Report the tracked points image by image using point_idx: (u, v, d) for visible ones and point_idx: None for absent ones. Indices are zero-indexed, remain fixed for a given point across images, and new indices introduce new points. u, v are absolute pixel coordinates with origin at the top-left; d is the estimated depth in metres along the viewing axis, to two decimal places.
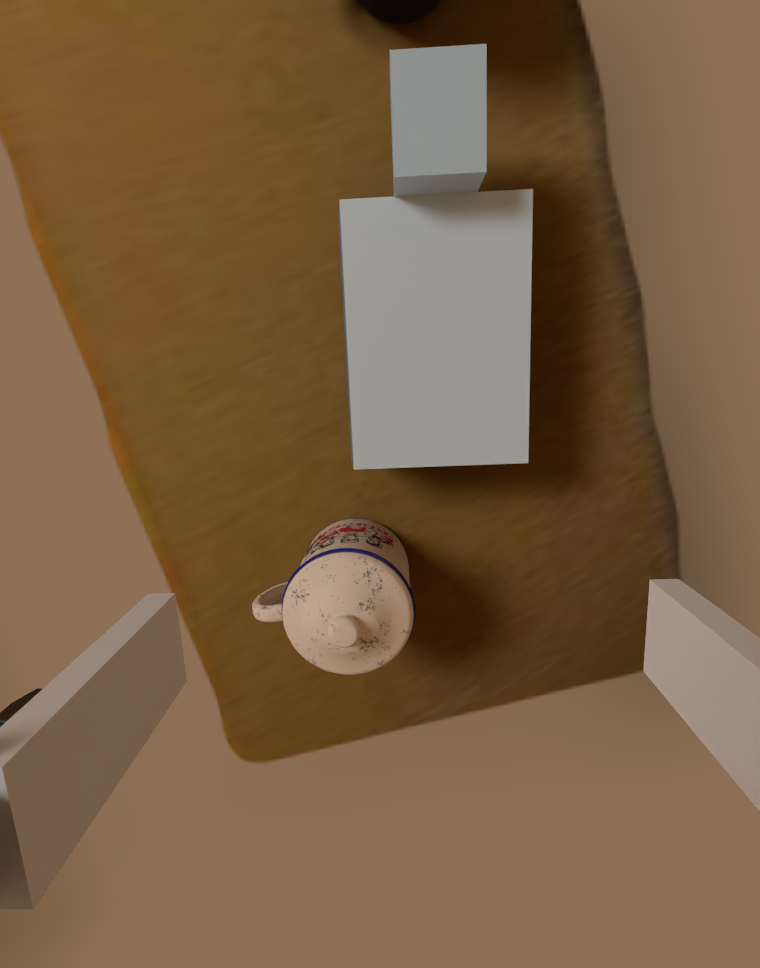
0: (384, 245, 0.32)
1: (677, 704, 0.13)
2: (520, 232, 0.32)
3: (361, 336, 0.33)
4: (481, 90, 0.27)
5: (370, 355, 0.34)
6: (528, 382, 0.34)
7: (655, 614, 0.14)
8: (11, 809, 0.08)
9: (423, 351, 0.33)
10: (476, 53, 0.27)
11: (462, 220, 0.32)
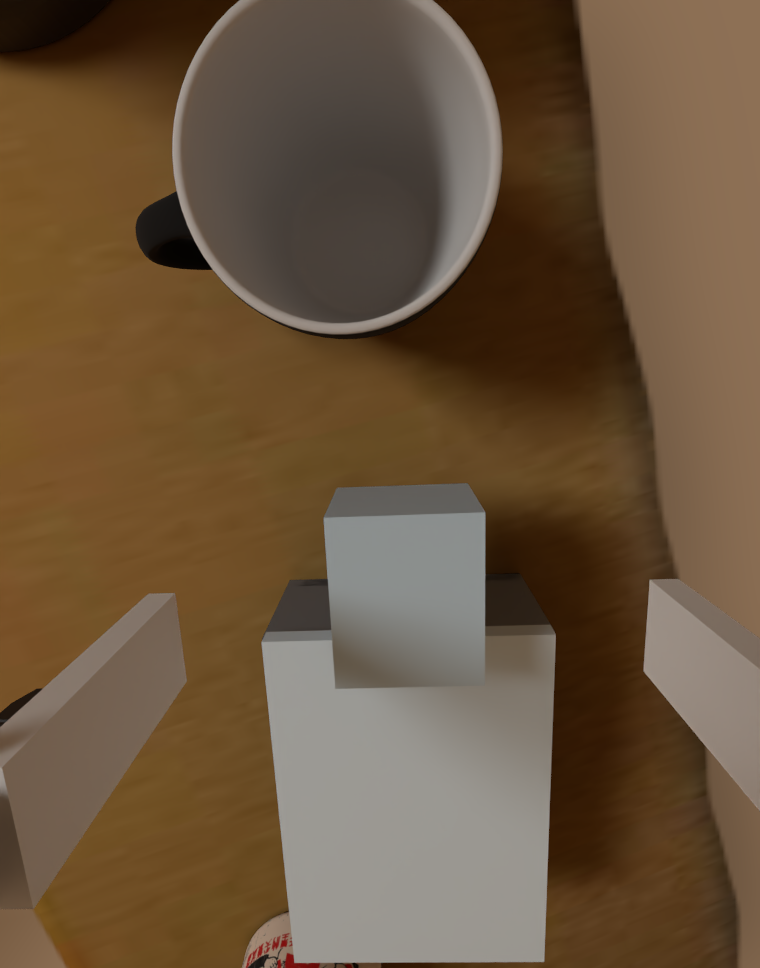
0: (331, 700, 0.21)
1: (677, 704, 0.13)
2: (536, 689, 0.21)
3: (300, 810, 0.23)
4: (476, 577, 0.17)
5: (313, 833, 0.23)
6: (545, 869, 0.23)
7: (655, 614, 0.14)
8: (11, 809, 0.08)
9: (391, 829, 0.23)
10: (468, 525, 0.16)
11: None
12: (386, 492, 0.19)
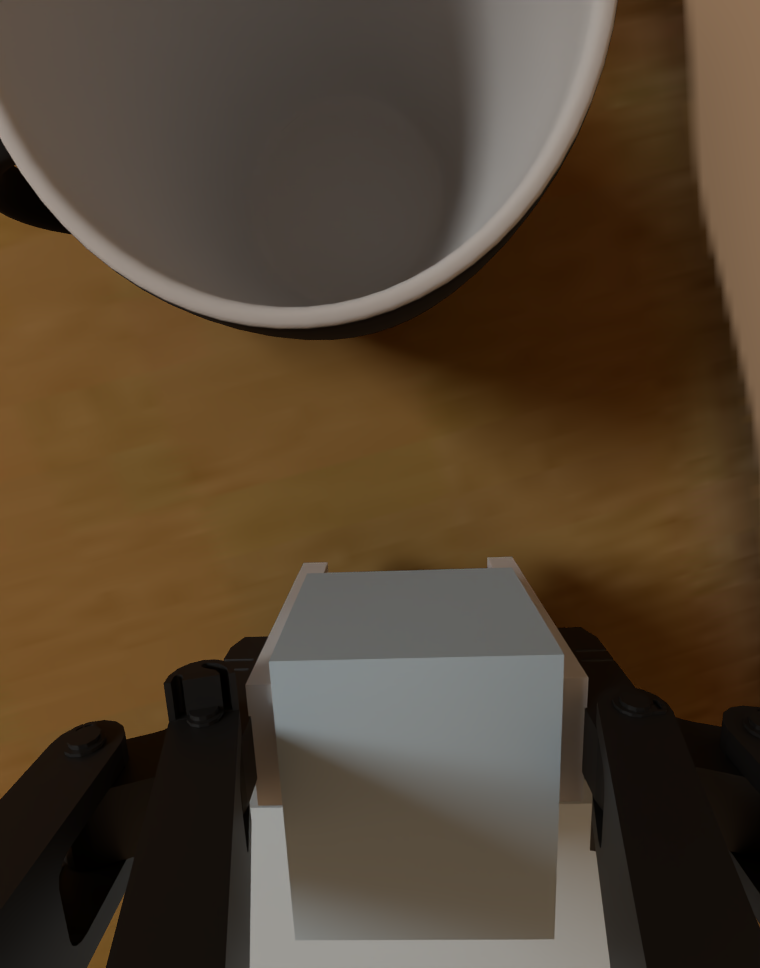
0: None
1: None
2: None
3: None
4: (545, 764, 0.09)
5: None
6: None
7: None
8: None
9: None
10: (532, 677, 0.09)
11: None
12: (384, 587, 0.12)
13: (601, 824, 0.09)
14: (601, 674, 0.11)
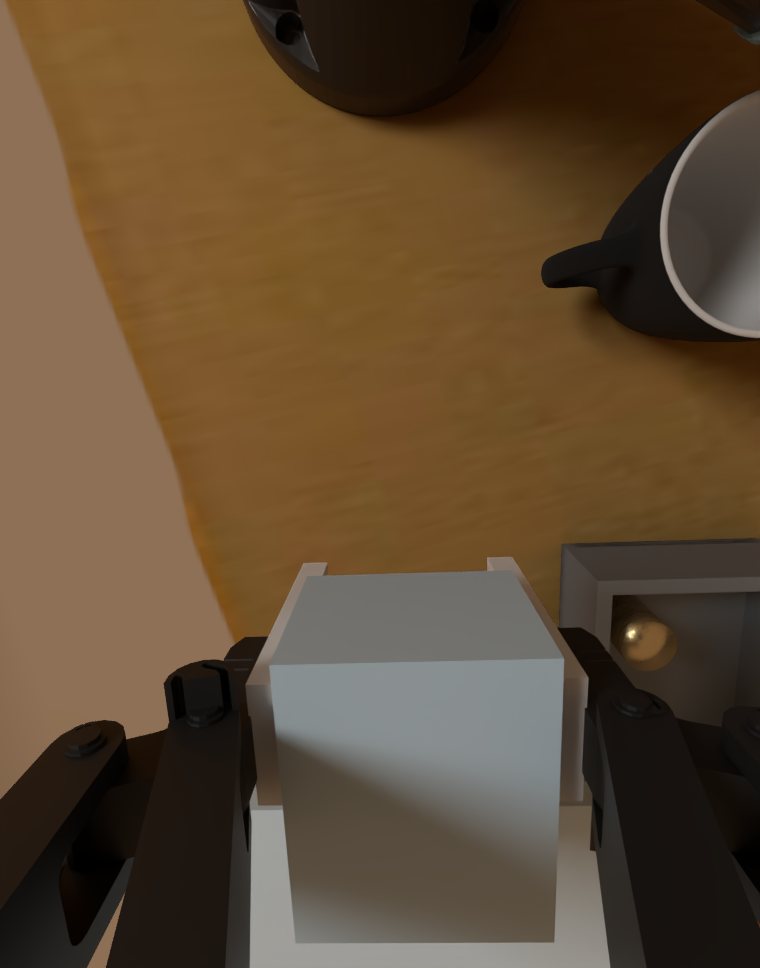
0: None
1: None
2: None
3: None
4: (545, 768, 0.09)
5: None
6: None
7: None
8: None
9: None
10: (532, 681, 0.09)
11: None
12: (384, 590, 0.12)
13: (601, 824, 0.09)
14: (601, 674, 0.11)
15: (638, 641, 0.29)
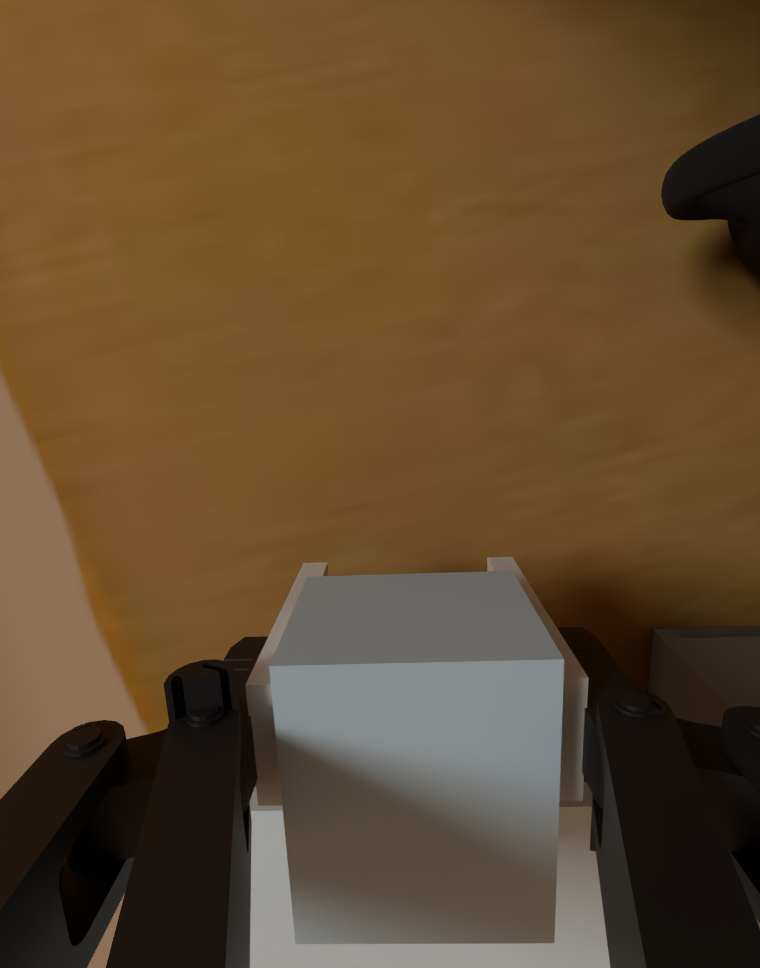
0: None
1: None
2: None
3: None
4: (545, 768, 0.09)
5: None
6: None
7: None
8: None
9: None
10: (532, 682, 0.09)
11: None
12: (384, 591, 0.12)
13: (601, 824, 0.09)
14: (601, 674, 0.11)
15: None
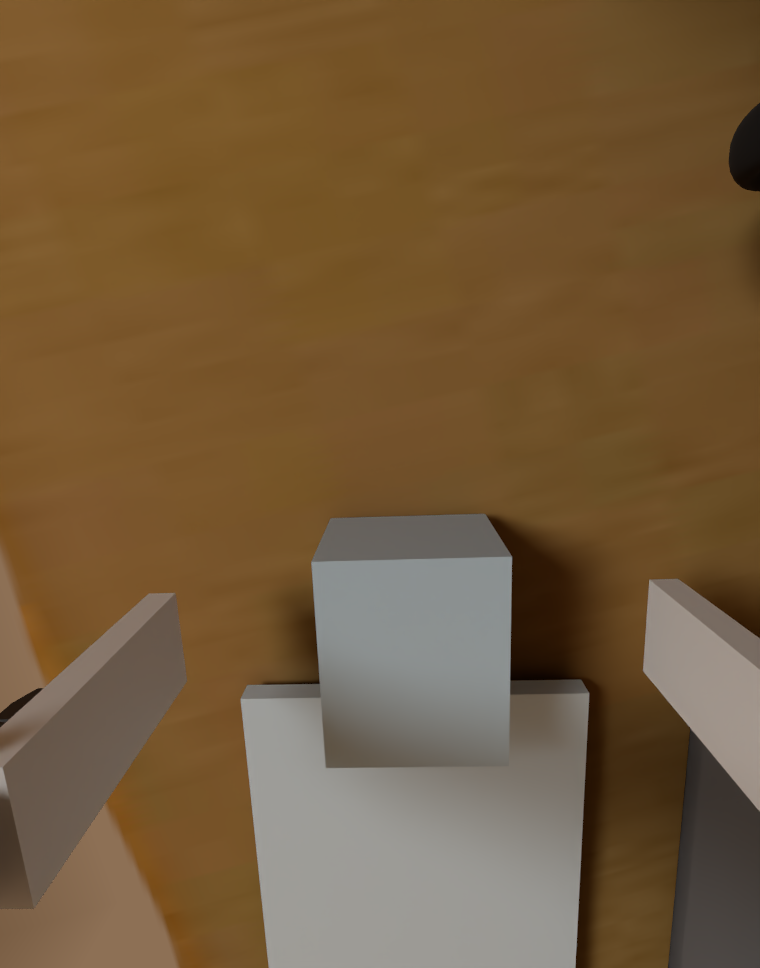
0: (322, 767, 0.18)
1: (676, 704, 0.13)
2: (564, 756, 0.18)
3: (286, 892, 0.19)
4: (500, 635, 0.13)
5: (301, 919, 0.20)
6: (573, 963, 0.20)
7: (654, 614, 0.14)
8: (12, 809, 0.08)
9: (393, 916, 0.19)
10: (490, 572, 0.13)
11: None
12: (389, 525, 0.16)
13: None
14: None
15: None
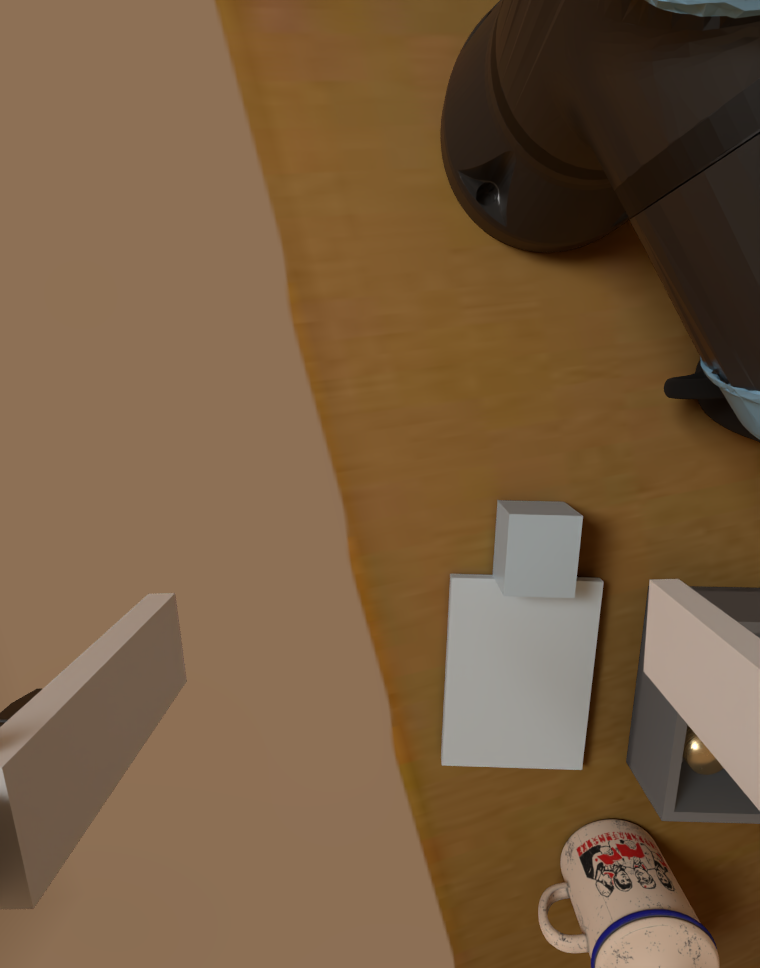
0: (483, 611, 0.41)
1: (677, 704, 0.13)
2: (591, 610, 0.40)
3: (458, 672, 0.42)
4: (576, 545, 0.36)
5: (463, 686, 0.42)
6: (587, 713, 0.42)
7: (655, 614, 0.14)
8: (11, 809, 0.08)
9: (506, 686, 0.42)
10: (574, 521, 0.36)
11: (546, 598, 0.40)
12: (526, 504, 0.39)
13: None
14: None
15: None
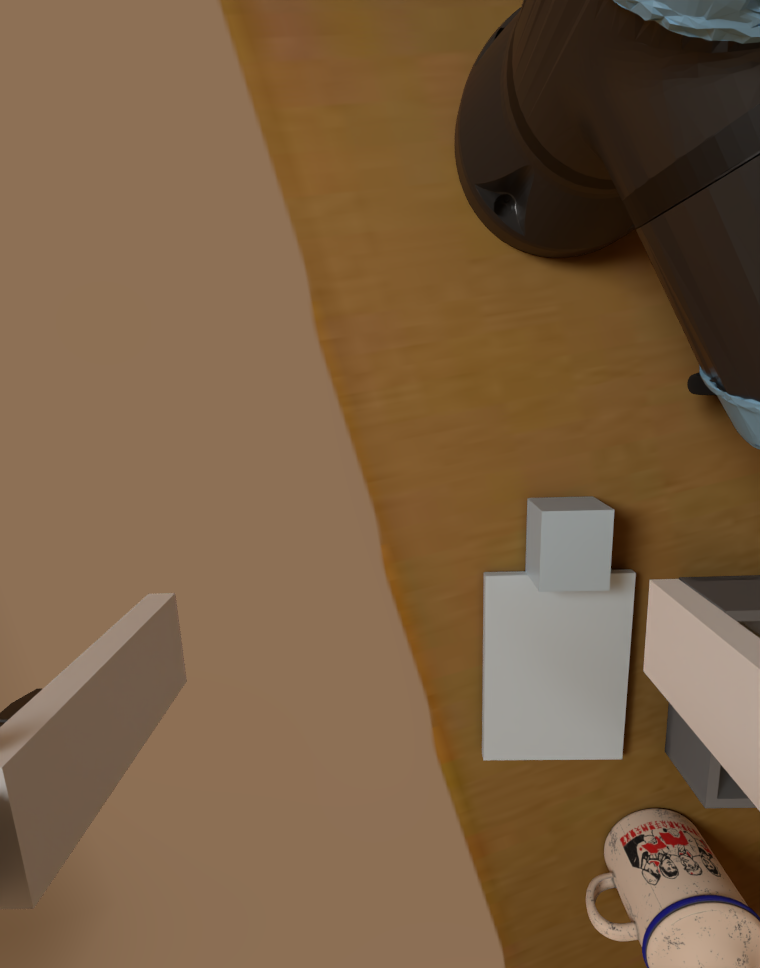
0: (518, 607, 0.41)
1: (677, 704, 0.13)
2: (624, 601, 0.41)
3: (496, 668, 0.43)
4: (608, 539, 0.37)
5: (501, 682, 0.43)
6: (625, 703, 0.43)
7: (655, 614, 0.14)
8: (11, 809, 0.08)
9: (544, 680, 0.43)
10: (606, 515, 0.36)
11: (580, 592, 0.41)
12: (556, 500, 0.39)
13: None
14: None
15: None
